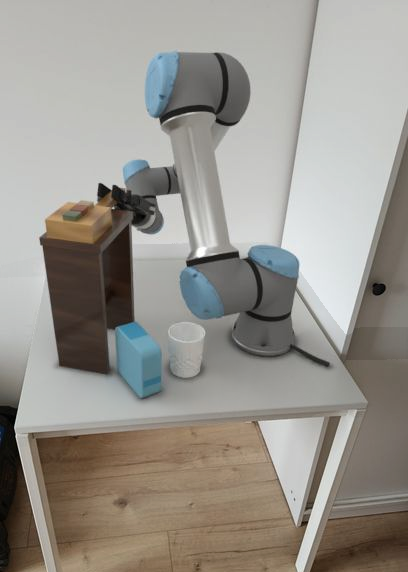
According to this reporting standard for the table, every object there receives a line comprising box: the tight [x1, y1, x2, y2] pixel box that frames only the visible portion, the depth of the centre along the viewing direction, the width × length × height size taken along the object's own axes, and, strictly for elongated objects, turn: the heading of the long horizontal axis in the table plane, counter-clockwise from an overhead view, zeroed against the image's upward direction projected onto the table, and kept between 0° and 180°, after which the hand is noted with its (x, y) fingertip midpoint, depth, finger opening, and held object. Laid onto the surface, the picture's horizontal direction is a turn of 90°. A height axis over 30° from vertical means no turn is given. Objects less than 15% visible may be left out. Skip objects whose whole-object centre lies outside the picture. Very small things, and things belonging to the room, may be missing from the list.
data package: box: [114, 321, 162, 399], centre depth 104 cm, size 12×4×12 cm, turn 34°
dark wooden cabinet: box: [38, 208, 136, 375], centre depth 109 cm, size 19×12×30 cm, turn 168°
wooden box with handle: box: [44, 187, 127, 244], centre depth 103 cm, size 28×9×5 cm, turn 168°
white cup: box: [167, 321, 206, 379], centre depth 109 cm, size 8×8×10 cm
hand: (106, 190), depth 106 cm, fingers closed on wooden box with handle, 2 cm apart
